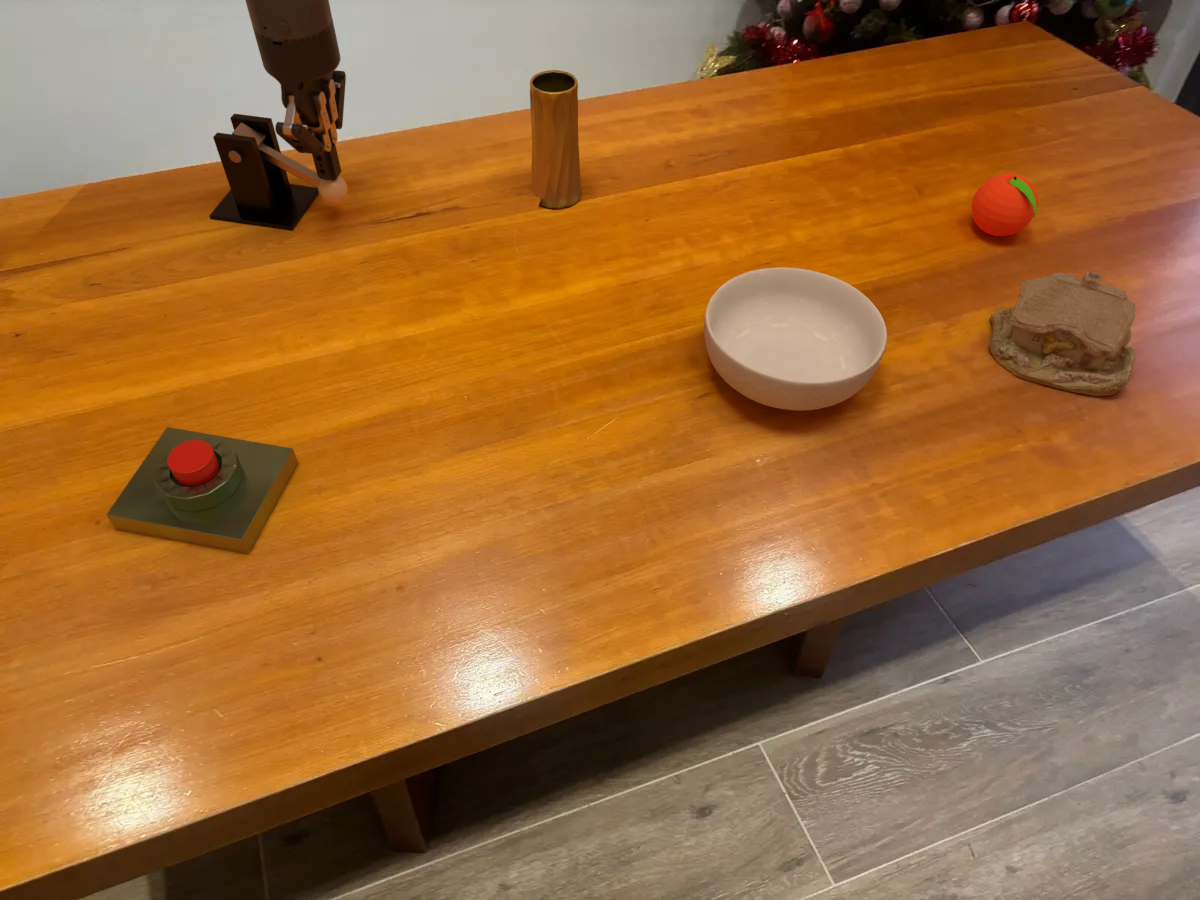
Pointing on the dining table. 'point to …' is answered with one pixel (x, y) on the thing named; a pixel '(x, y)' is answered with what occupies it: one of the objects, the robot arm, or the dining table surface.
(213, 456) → the button
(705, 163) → the dining table surface
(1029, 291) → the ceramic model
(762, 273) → the cereal bowl
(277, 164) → the lever
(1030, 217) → the clementine
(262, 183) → the bracket
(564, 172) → the vase
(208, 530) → the button box
